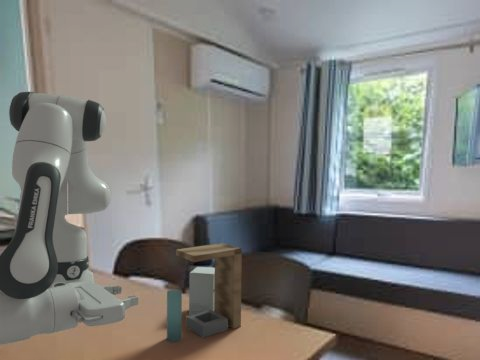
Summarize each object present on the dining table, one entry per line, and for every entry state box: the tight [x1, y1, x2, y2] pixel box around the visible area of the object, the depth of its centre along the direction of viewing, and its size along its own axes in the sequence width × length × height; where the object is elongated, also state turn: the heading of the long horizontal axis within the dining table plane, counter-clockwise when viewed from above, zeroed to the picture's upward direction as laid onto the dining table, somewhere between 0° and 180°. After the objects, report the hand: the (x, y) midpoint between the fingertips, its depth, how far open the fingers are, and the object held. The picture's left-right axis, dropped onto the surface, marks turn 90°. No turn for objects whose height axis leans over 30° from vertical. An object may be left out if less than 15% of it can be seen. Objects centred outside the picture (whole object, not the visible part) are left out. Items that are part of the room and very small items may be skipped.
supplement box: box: [188, 266, 215, 316], centre depth 115 cm, size 7×7×13 cm
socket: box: [186, 310, 229, 339], centre depth 103 cm, size 8×8×3 cm
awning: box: [175, 242, 243, 330], centre depth 103 cm, size 9×15×22 cm, turn 129°
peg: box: [166, 289, 183, 343], centre depth 97 cm, size 4×4×12 cm
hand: (128, 294), depth 89 cm, fingers open, 8 cm apart
